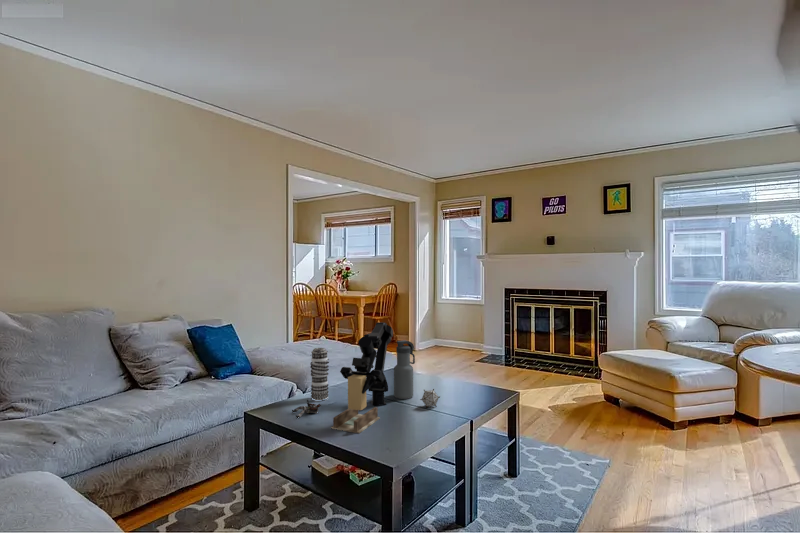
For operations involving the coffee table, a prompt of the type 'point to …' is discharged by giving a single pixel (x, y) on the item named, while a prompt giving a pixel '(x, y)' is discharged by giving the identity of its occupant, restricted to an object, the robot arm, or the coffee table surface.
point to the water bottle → (404, 370)
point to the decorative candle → (319, 374)
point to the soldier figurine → (307, 409)
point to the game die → (430, 398)
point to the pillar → (356, 392)
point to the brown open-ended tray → (355, 420)
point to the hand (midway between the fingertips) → (355, 392)
